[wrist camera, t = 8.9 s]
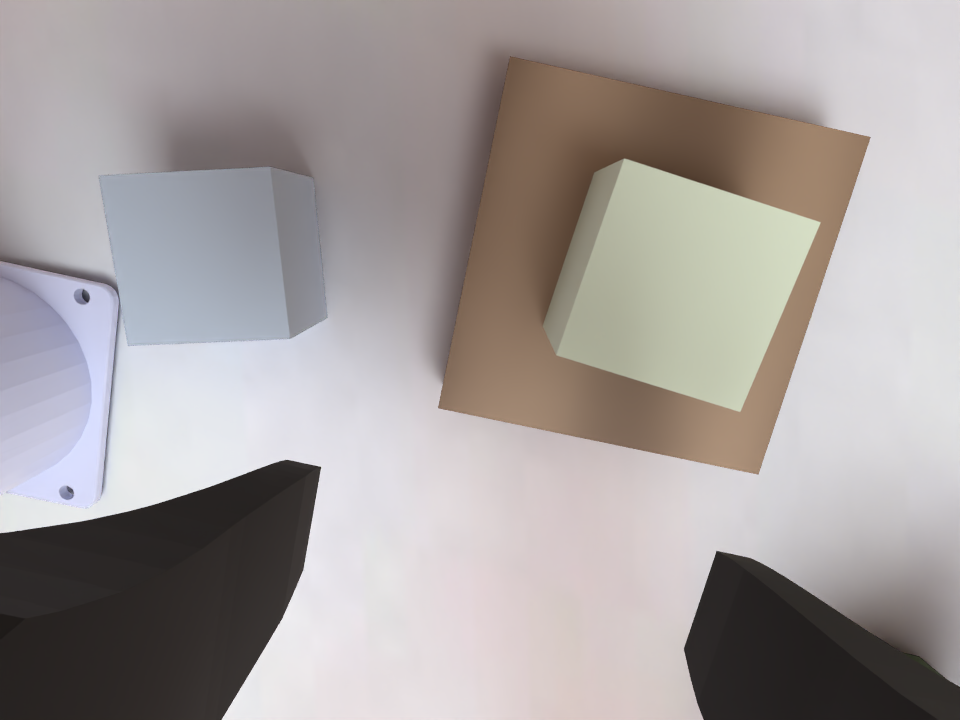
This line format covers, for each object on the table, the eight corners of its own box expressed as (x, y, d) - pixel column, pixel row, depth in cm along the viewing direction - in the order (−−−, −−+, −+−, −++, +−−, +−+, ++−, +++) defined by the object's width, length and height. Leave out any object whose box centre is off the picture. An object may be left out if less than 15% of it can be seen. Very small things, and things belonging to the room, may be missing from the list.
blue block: (196, 323, 21) (127, 345, 17) (176, 185, 20) (98, 175, 16) (328, 317, 21) (290, 339, 17) (314, 177, 20) (270, 166, 16)
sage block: (542, 326, 18) (556, 355, 14) (594, 172, 17) (624, 158, 13) (687, 371, 18) (740, 412, 14) (746, 221, 17) (820, 222, 13)
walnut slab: (445, 382, 22) (437, 408, 19) (507, 81, 19) (510, 56, 16) (722, 440, 22) (758, 474, 19) (813, 149, 20) (870, 137, 17)
